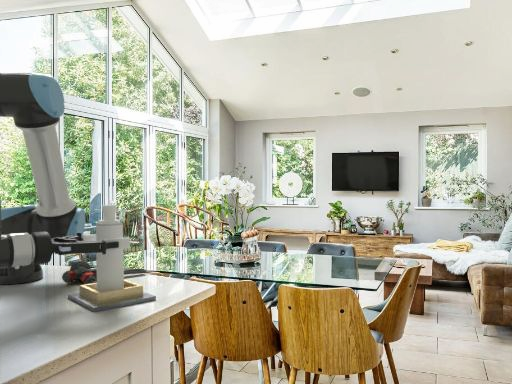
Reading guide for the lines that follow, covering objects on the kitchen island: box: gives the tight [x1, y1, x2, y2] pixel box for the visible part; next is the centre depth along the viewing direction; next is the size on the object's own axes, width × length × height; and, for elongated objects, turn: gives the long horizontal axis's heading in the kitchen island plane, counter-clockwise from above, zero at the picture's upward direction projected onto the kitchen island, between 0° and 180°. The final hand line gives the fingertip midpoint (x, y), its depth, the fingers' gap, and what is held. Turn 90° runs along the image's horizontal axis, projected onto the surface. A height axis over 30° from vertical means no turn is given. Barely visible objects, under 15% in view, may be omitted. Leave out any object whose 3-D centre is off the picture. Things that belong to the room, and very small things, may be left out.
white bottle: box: [95, 204, 125, 292], centre depth 118 cm, size 7×7×25 cm
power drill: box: [61, 260, 147, 285], centre depth 142 cm, size 6×26×15 cm
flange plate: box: [67, 278, 157, 313], centre depth 119 cm, size 18×16×4 cm
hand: (117, 240), depth 120 cm, fingers open, 13 cm apart
